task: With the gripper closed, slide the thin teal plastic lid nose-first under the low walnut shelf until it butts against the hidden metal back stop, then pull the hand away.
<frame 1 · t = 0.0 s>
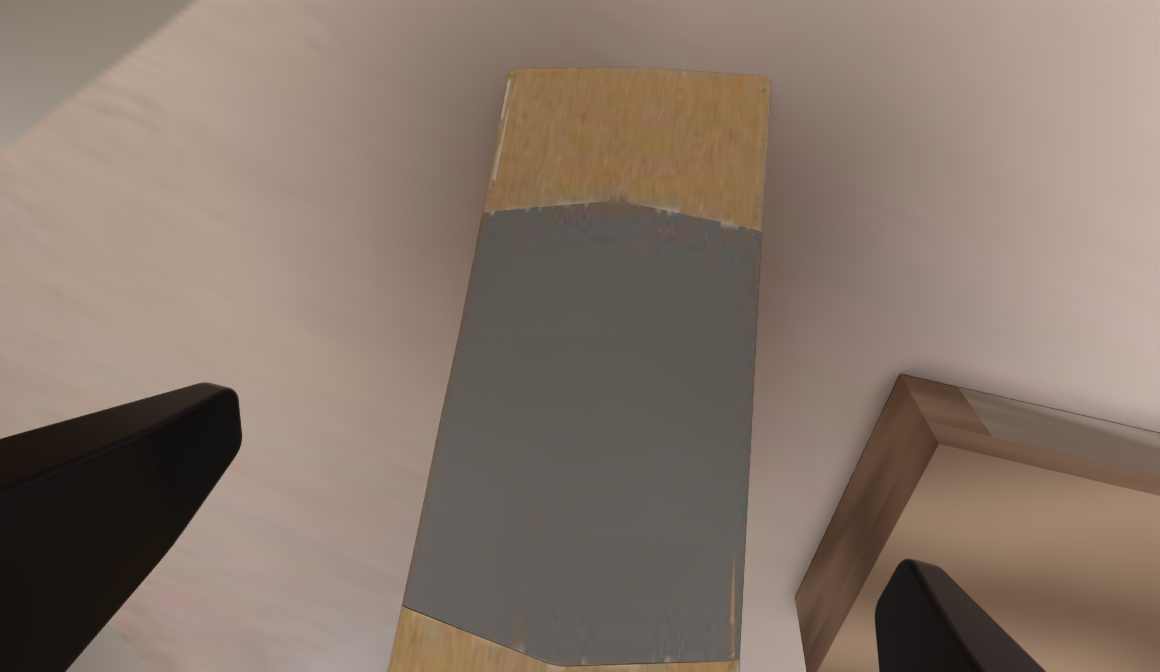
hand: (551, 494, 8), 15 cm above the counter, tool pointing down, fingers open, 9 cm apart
low shelf: (1106, 562, 24), on the counter
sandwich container: (626, 291, 23), on the counter
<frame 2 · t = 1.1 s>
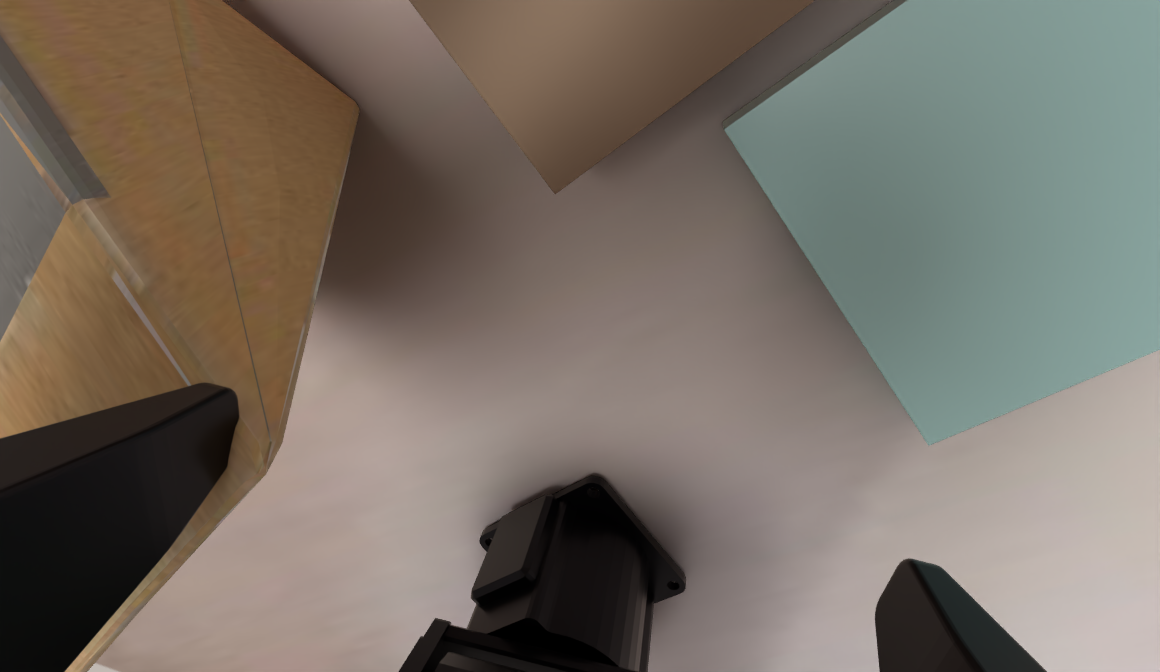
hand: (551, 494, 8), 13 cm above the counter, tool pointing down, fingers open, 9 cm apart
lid: (1020, 166, 18), on the counter
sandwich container: (36, 39, 18), point 3 cm above the counter, touching gripper
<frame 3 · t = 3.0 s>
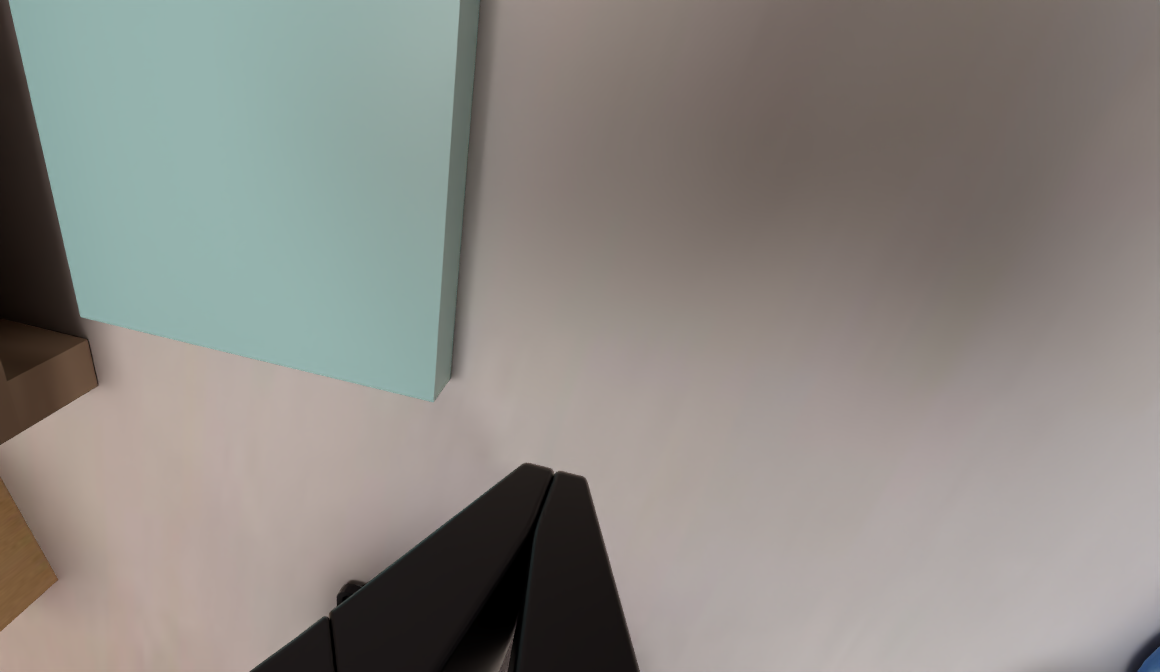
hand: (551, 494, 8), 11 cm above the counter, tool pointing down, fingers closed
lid: (279, 156, 19), on the counter
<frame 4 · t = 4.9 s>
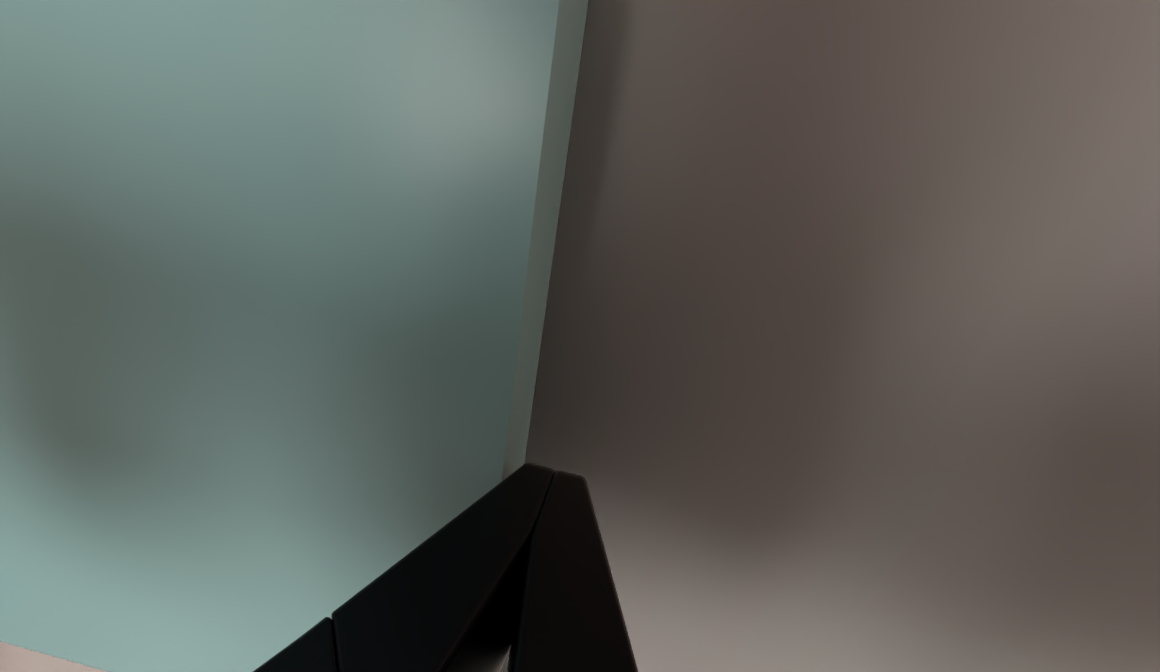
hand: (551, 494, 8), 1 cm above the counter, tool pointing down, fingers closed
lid: (176, 334, 10), on the counter
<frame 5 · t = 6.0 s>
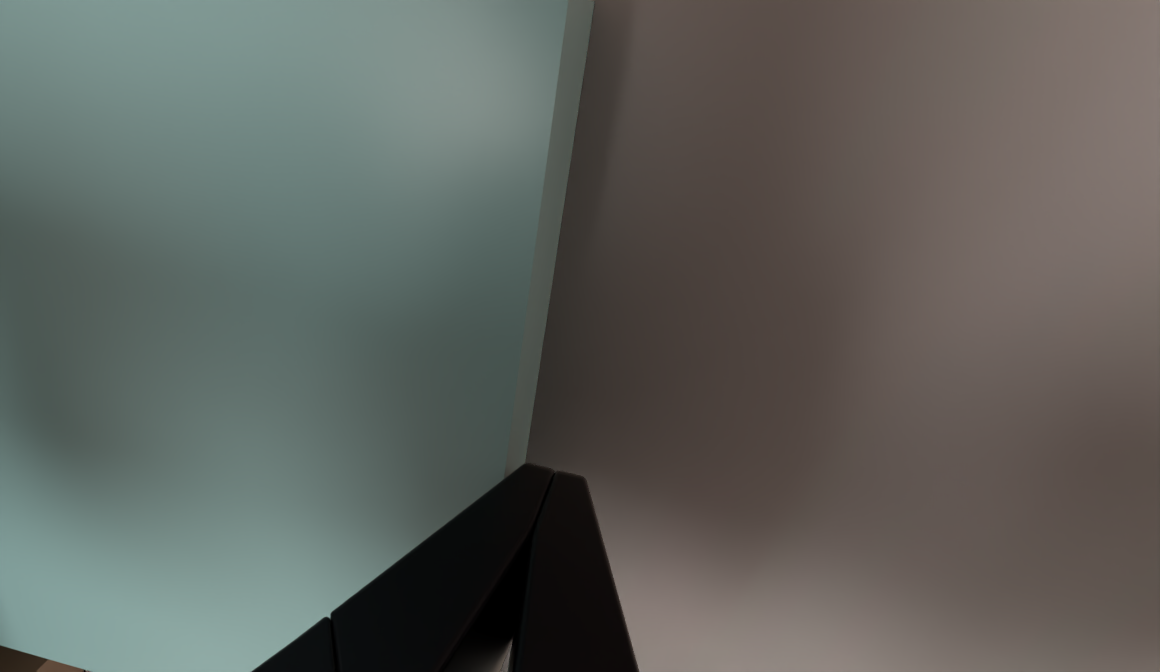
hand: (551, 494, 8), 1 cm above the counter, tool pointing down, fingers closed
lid: (181, 345, 10), on the counter
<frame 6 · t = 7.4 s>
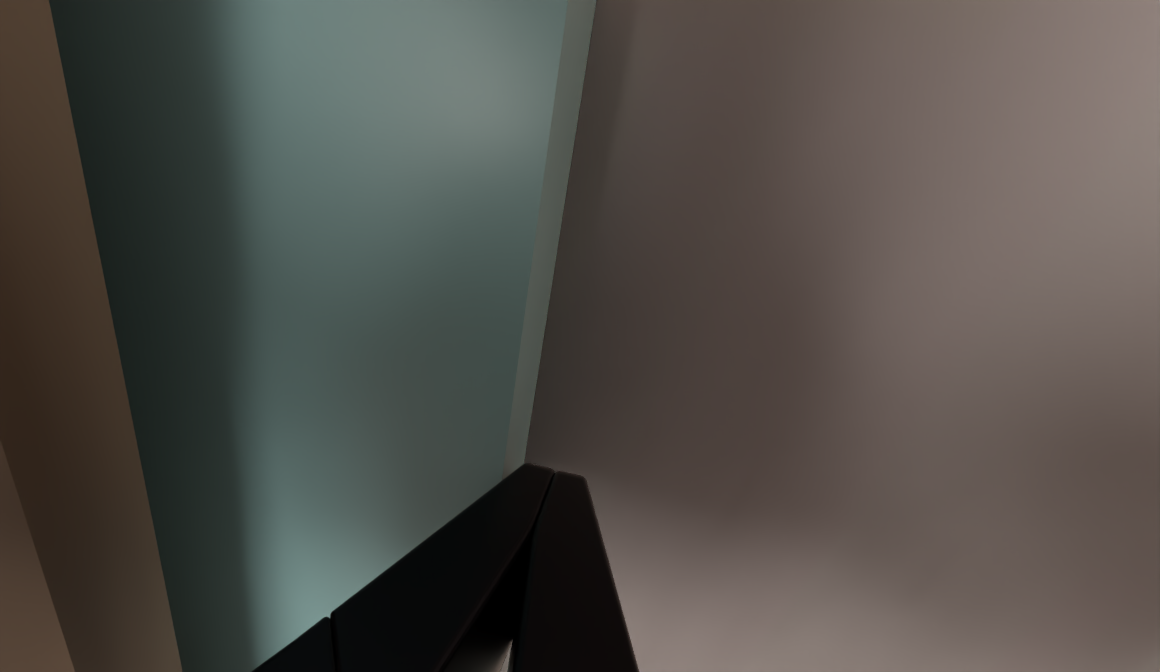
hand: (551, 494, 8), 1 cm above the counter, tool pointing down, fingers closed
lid: (177, 340, 10), on the counter, touching gripper
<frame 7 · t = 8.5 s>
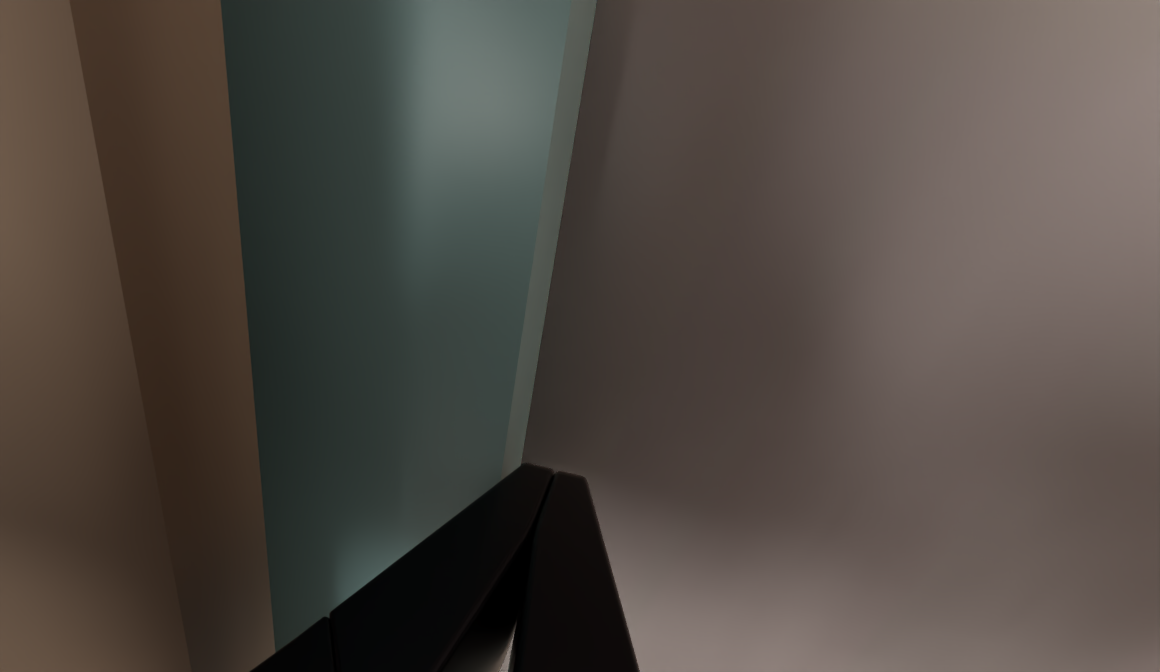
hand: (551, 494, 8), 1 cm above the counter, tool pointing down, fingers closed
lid: (176, 331, 10), on the counter
low shelf: (39, 318, 10), on the counter
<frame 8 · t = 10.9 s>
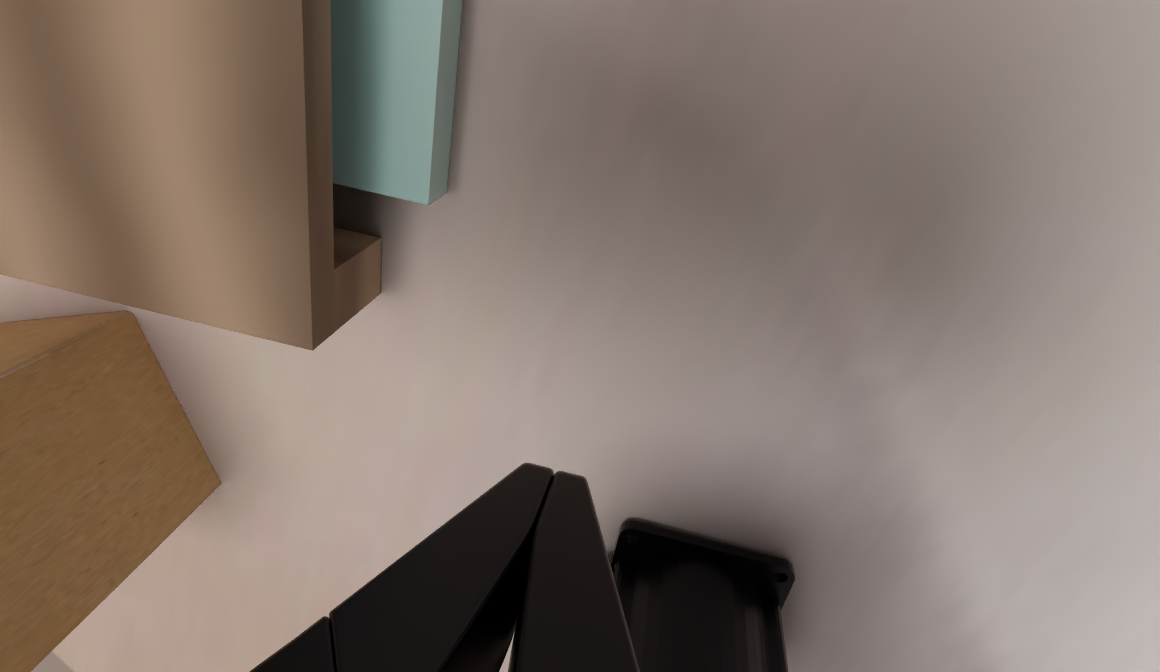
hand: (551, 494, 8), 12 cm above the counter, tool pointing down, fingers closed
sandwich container: (40, 410, 28), on the counter
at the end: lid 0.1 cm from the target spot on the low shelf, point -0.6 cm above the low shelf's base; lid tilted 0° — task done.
